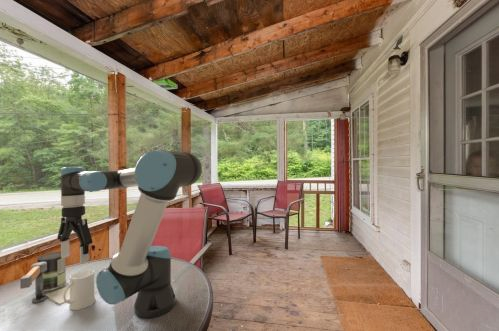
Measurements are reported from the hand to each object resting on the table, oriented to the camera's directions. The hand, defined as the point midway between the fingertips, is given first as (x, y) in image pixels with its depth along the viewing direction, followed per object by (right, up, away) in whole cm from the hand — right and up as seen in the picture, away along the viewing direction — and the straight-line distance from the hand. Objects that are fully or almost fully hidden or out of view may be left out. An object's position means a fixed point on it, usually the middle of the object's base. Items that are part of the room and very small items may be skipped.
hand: (74, 259), depth 94 cm
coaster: (-10, -19, +10) cm, 23 cm away
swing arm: (-16, -7, 0) cm, 17 cm away
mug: (+1, -19, +1) cm, 19 cm away
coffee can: (-23, -19, +17) cm, 34 cm away
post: (-18, -19, +5) cm, 27 cm away
